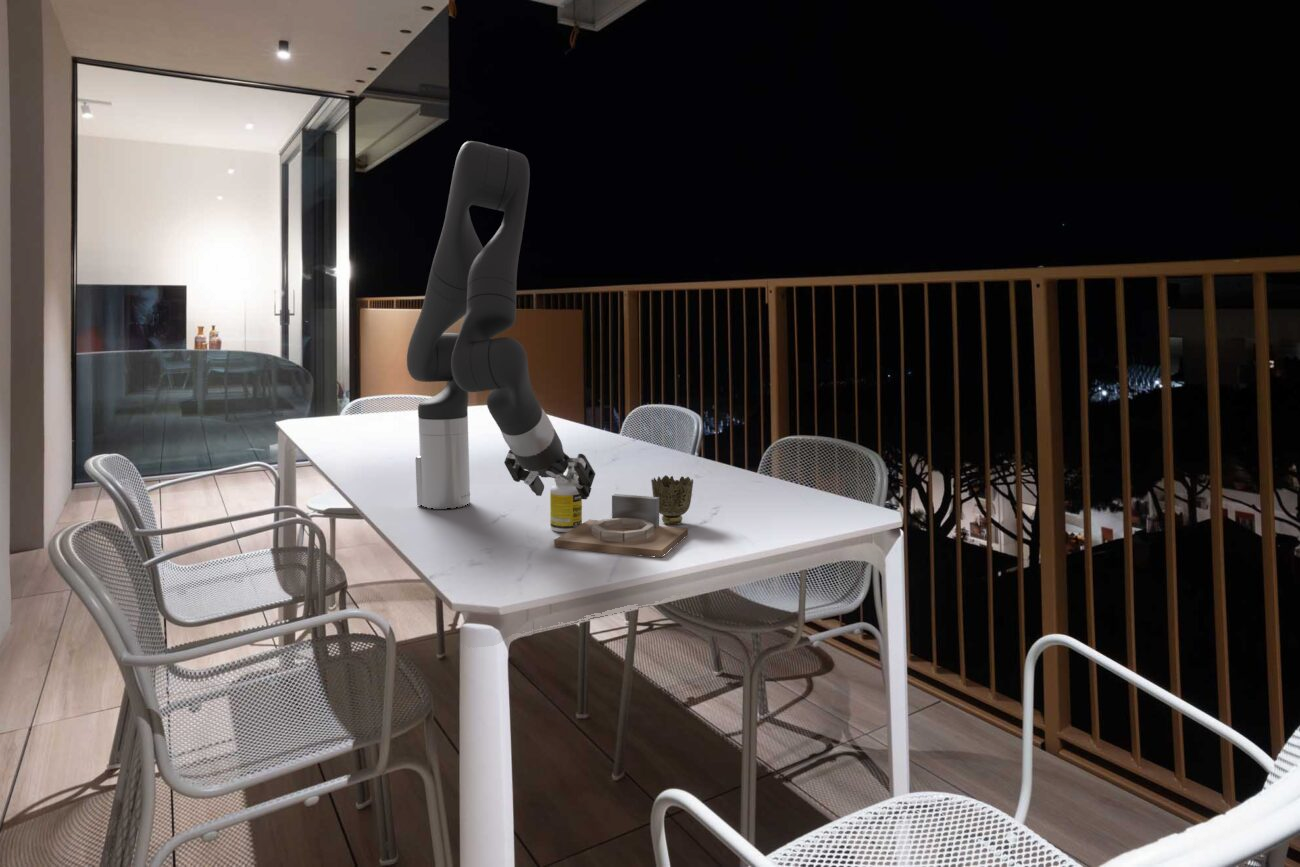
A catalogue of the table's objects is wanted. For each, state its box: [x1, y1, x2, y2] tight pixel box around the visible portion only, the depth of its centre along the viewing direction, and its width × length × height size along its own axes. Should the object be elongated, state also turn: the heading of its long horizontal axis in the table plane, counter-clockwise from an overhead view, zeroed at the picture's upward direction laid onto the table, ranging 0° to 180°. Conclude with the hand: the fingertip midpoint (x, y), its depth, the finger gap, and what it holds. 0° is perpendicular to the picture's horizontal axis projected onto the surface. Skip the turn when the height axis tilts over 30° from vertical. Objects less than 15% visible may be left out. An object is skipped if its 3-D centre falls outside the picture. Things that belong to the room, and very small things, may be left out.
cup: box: [650, 474, 694, 526], centre depth 145 cm, size 8×7×8 cm
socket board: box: [553, 493, 689, 558], centre depth 133 cm, size 18×14×6 cm
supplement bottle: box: [549, 470, 583, 533], centre depth 140 cm, size 5×5×10 cm
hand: (563, 493), depth 139 cm, fingers open, 8 cm apart
